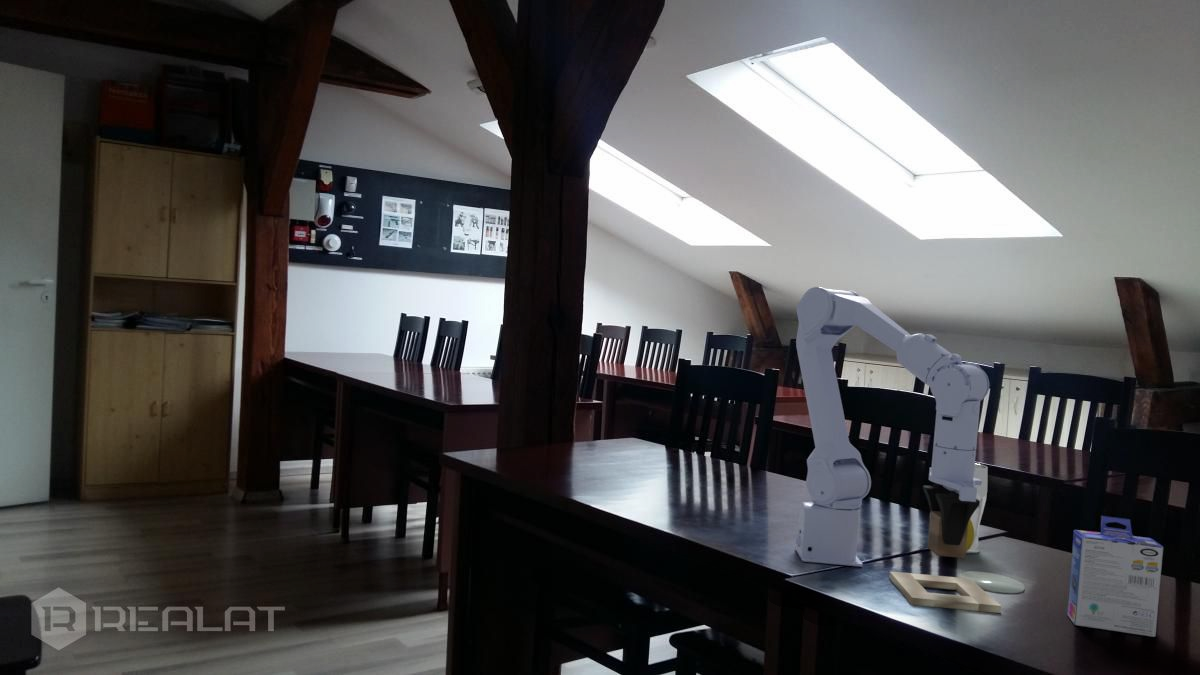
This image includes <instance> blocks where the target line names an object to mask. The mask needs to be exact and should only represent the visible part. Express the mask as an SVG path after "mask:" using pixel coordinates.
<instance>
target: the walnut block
mask: <svg viewBox="0 0 1200 675" xmlns="http://www.w3.org/2000/svg"><path fill="white" fill-rule="evenodd" d="M929 519H930V520H929V529H928V530H929V532H928V541H927V549H929V550H930V551H931V552H932V553H933V554H934V555H935V556H939V557H947V558H948V557H950V558H961V559H965V558H966V554H967V553H966V542H967V531H968V524H967V527H966V530H965V533H964V535H963V538H962V541H961V543H960V545H948V544H944V541H943V536H942V518H941V512H938V511H931V513H930V518H929Z"/></svg>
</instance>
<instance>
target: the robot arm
mask: <svg viewBox="0 0 1200 675" xmlns="http://www.w3.org/2000/svg"><path fill="white" fill-rule="evenodd" d="M795 309H796V313H797V314H796V315H797V320H798V326H797V332H796V341H795V343H796V345H795V348H796V351H797V358H798V362H799V367H800V373H801V378H802V383H803V384H802V385H803V390H804V394H805V399H806V405H807V410H808V416H809V421H810V426H811V431H812V436H813V442H814V447H815V448H814V449H813V450H812V452H811V453H810V454H809V456H808V458H807V459H806V465H807V474H806V480H805V485H806V490H807V493H808V494H809V496H810V498H811V501H800V502H801V503H800V504H799V507H798V508H799V509H798V518H797V529H796V540H795V541H796V542H795V550H796V552H797V554H798V556H799V558H800V560H801V561H802V562H804V563H806V562H807V563H818V564H827V565H828V564H829V565H840V566H849V567H850V566H852V567H863V565H864V563H863V562H862V561H861V560H860V558H859V557H858V556H857V550H858V549H857V548H858V547H857V546H858V536H859V526H860V525H859V524H860V511H861V510H860V509H861V506H862V504H863V499H864V498H865V497H866V496H867V495H869V493H870V490H871V487H872V479H871V478H872V477H871V475H870V472H869V470H868V469H867V467H866V466H865V464H864V462H863V458H862V454H861V453H860V451H859V450H858V449H857V448H856V447H855V446H853V444H851V442H850V438H849V433H848V429H847V428H848V427H847V423H846V419H845V418H846V417H845V414H844V412H845V411H844V408H843V403H842V402H843V401H842V398H841V393H840V388H839V383H838V378H837V373H836V368H835V363H834V357H833V351H832V349H833V348H834V346H835V345H836V344H837V342H838V341H839V340H840V339H841V338H842V337H844V336H846V334H847V333H848V332H850V331H851V330H852V329H853V328H854V327H858V328H860V329H861V330H863V331H864V332H866V333H867V334H869V335H871V336H872V337H873V338H875V339H876V340H878V341H879V342H881V343H883V344H884V345H886V347H889V348H890V349H891V350H893V351H894V352H895V353H896V361H897V363H898V364H899V365H900V366H901V367H902V368H904V369H906V370H907V371H908V372H910V374H912V375H913V376H915V377H916V378H917V379H919V380H920V381H921V382H923V383H924V384H925V385H927V386H928V387H929V388H930V392H931V394H932V396H933V397H934V399H935V403H936V404H935V410H936V412H935V413H936V414H935V423H934V436H933V445H932V446H933V447H932V456H931V457H932V459H931V467H929V472H928V481H930V482H932V483H934V484H933V485H925V484H924V485H923V486H922V490H923V492H924V495H925V497H926V500H927V503H928V508H929V513H930V514H931V511H938V512H941V518H942V536H943V541H944V544H948V545H960V543H961V541H962V538H963V535H964V533H965V530H966V527H967V524H968V522H969V520H970V518H971V516H972V514H973V513H974V511H975V510H976V509H977V508H978V506H979V504H980V501H979V500H978V499H976V494H977V488H976V487H975V486H974V485H982V480H980V479H978V478H974V467H975V463H976V456H977V445H978V433H979V432H978V431H979V423H980V422H979V420H980V411H981V408H980V407H981V401H983V400H984V399H985V397H986V396H987V395H988V392H989V389H990V380H989V376H988V375H987V373H986V371H985V370H984V369H982V368H981V366H980V365H979V364H976V363H970V362H969V363H963V360H962V358H963V357H962V356H961V355H960V354H958V353H952V352H950V351H948V350H947V349H946V348H945V347H943V346H942V345H939V343H937V340H938V338H937V337H936V336H935V335H933V334H930V333H929V334H928V333H927V334H924V333H921V332H920V333H915V334H910V333H909V332H908V331H907V330H905V329H904V328H903V327H902V326H901V325H899V324H897V322H895V321H894V320H893V319H891V318H890V317H889V316H888V315H886V314H885V313H884V312H883V311H881V310H880V309H879V308H878V307H877V306H875V305H874V304H872V303H871V301H870V299H868V298H866V297H864V296H861V295H860V294H859V293H858V292H856V291H854V290H850V289H845V290H843V289H842V290H840V289H834V288H833V289H832V288H824V287H821V286H813V287H810V288H809V289H807V290H806V292H804V294H803V295H802V297H801V298H800V300H799V302H798V303H797V305H796V306H795Z"/></svg>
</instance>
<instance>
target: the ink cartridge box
mask: <svg viewBox="0 0 1200 675" xmlns="http://www.w3.org/2000/svg"><path fill="white" fill-rule="evenodd" d="M1110 523H1111V524H1113V523H1117V524H1120V525H1123V526H1125V529H1123V528H1118V527H1117V528H1116V527H1111V526H1110V527H1108V526H1107V525H1106V524H1110ZM1131 525H1132V523H1131V519H1128V518H1121V517H1114V516H1113V517H1112V516H1106V515H1100V532H1099V531H1091V530H1089V531H1088V530H1081V529H1080V530H1079V529H1074V530H1073V534H1072V538H1073V539H1072V554H1071V567H1070V582H1069V592H1068V593H1069V594H1068V595H1069V596H1068V604H1067V605H1068V606H1067V616H1068V618H1069V619H1070V620H1071V622H1072V623H1073V625H1075V626H1080V627H1087V628H1093V629H1098V630H1099V629H1101V630H1104V631H1105V630H1107V631H1112V632H1120V633H1125V634H1132V635H1139V636H1145V637H1146V636H1147V637H1151V638H1155V637H1156V636H1157V622H1158V610H1159V599H1160V598H1159V597H1160V586H1161V576H1162V575H1161V574H1162V566H1163V555H1164V546H1163V545H1161V544H1160V543H1159V542H1157V541H1156V540H1154V539H1153V538H1151V537H1143V536H1135V535H1133V531H1132V526H1131Z"/></svg>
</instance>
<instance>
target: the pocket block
mask: <svg viewBox="0 0 1200 675" xmlns="http://www.w3.org/2000/svg"><path fill="white" fill-rule="evenodd" d="M888 579H889V580H890V581H891V582H892V583H893V584H894V585H895V587H896V588H897V589H898V590H899V591H900V593H901V594H902V595H903V596H904V597H905V599H907V601H908V602H909V603H910V605H912V606H923V607H932V608H933V607H934V608H943V609H952V610H953V609H954V610H955V609H956V610H963V611H965V610H966V611H975V612H976V611H977V612H985V613H995V614H996V613H997V614H998V613H999V614H1001V613H1002V605H1001V604H1000V603H998V601H996V599H994V598H993V597H992V596H990V594H988V593H987V592H986V590H983V589H981V588H980V587H979V586H978V585H977V584H976V583H975V582H974V581H972V580H971V579H969V578H960V577H956V576H947V575H946V576H944V575H935V574H934V575H933V574H922V573H910V572H901V571H890V570H889V574H888ZM925 588H932V589H944V590H956V591H957V592H958V593H959V594H960V595H959V594H947V593H936V592H929V591H927V590H926V589H925Z"/></svg>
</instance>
